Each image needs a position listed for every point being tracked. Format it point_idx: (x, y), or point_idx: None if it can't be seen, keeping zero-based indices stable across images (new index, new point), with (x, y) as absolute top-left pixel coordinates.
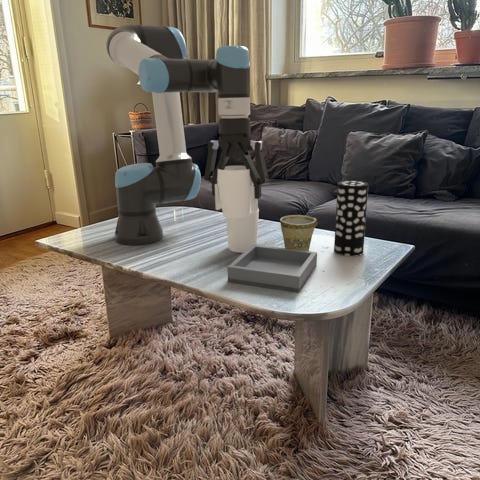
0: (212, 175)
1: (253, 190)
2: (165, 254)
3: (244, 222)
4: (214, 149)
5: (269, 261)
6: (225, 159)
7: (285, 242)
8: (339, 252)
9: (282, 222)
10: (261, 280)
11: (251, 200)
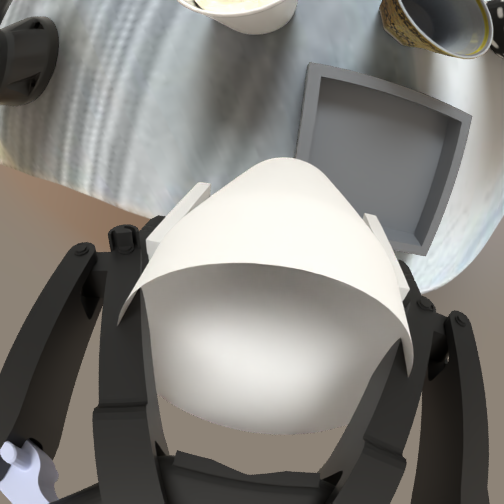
0: (90, 268)
1: None
2: (100, 108)
3: (266, 16)
4: (45, 454)
5: (360, 106)
6: (162, 434)
7: (393, 28)
8: (490, 45)
9: (409, 22)
10: None
11: None
